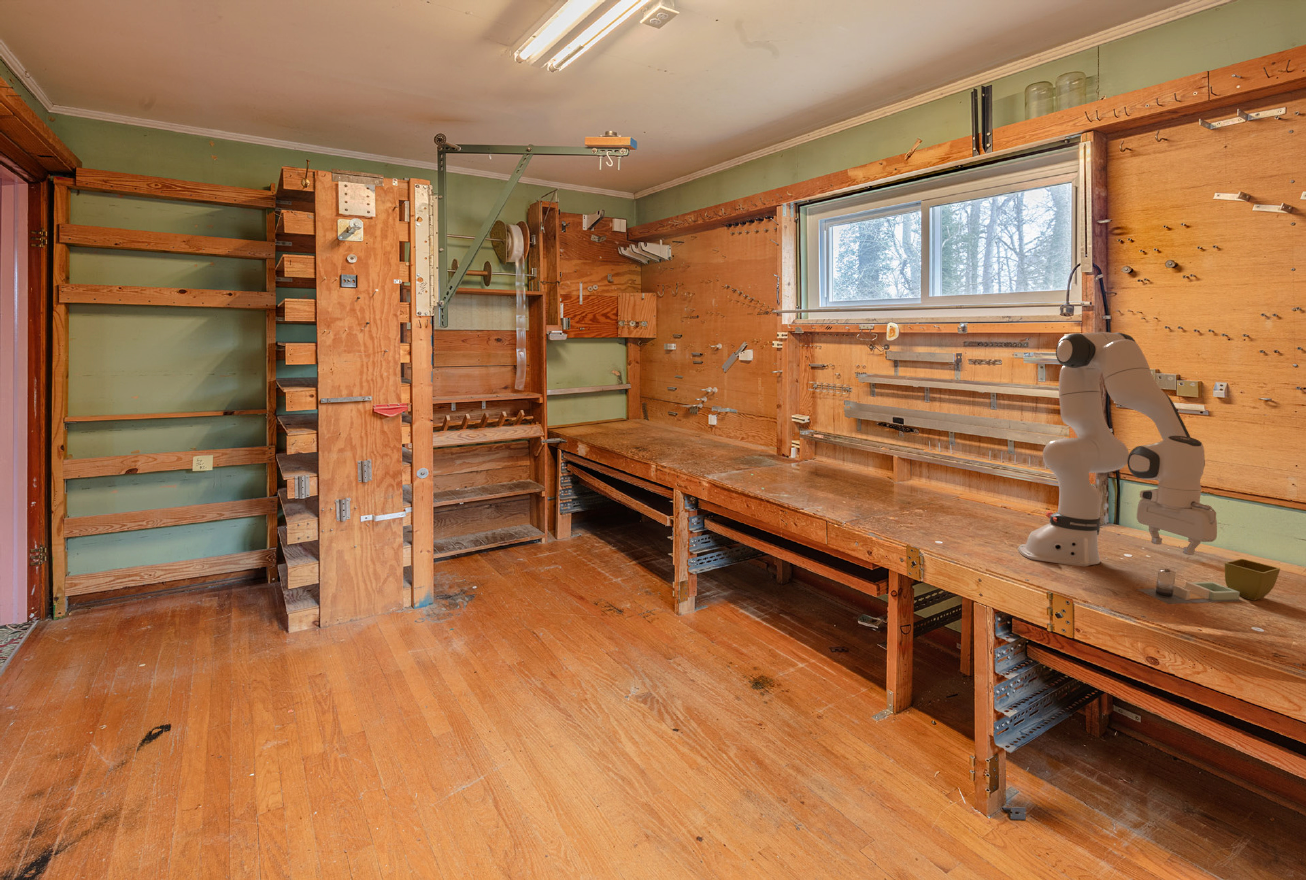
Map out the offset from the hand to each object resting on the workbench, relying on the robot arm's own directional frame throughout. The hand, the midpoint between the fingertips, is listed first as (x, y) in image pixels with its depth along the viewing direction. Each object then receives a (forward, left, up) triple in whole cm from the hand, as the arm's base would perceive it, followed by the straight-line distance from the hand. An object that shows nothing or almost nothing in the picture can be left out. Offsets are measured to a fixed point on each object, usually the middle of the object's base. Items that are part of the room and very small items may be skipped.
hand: (1171, 549), depth 172 cm
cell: (0, 0, -13) cm, 13 cm away
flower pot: (+23, +11, -15) cm, 29 cm away
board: (+7, +4, -14) cm, 16 cm away
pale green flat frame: (+13, +6, -14) cm, 21 cm away
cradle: (+6, +3, -14) cm, 16 cm away
